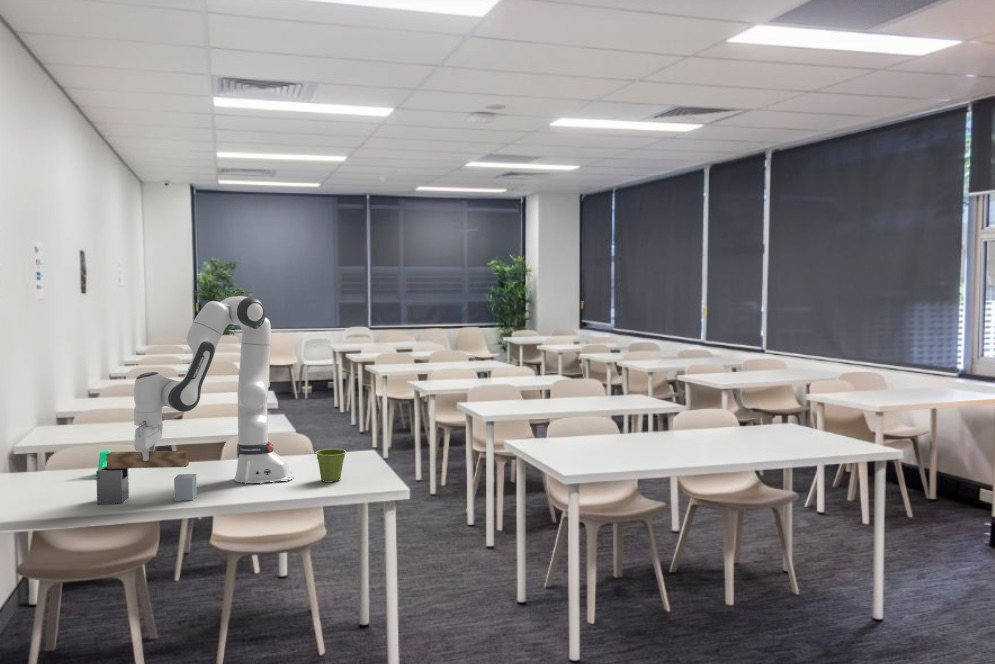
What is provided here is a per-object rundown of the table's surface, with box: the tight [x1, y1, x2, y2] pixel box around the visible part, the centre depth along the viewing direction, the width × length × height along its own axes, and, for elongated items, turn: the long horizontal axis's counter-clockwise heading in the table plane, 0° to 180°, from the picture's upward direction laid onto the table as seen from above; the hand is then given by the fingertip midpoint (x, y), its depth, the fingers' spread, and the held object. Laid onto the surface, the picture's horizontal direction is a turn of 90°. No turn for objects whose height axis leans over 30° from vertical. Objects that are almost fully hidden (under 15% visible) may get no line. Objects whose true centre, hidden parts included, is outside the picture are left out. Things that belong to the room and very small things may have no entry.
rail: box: [106, 450, 190, 469], centre depth 272 cm, size 26×4×5 cm, turn 99°
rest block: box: [173, 473, 198, 502], centre depth 274 cm, size 6×6×8 cm
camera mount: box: [97, 449, 112, 470], centre depth 310 cm, size 12×8×10 cm, turn 14°
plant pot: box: [314, 448, 347, 482], centre depth 301 cm, size 12×12×11 cm
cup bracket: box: [95, 466, 130, 505], centre depth 270 cm, size 8×8×12 cm
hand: (148, 458), depth 272 cm, fingers closed on rail, 4 cm apart
